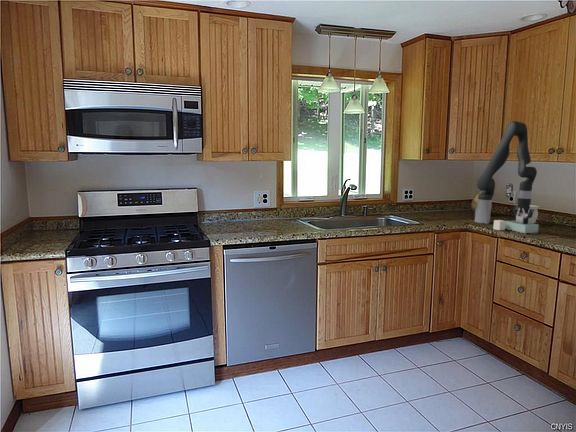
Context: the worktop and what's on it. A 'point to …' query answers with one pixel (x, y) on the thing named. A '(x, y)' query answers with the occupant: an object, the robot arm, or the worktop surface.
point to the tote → (522, 227)
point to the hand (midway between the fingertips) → (521, 223)
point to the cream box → (499, 225)
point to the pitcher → (535, 214)
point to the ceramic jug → (474, 202)
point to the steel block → (520, 220)
